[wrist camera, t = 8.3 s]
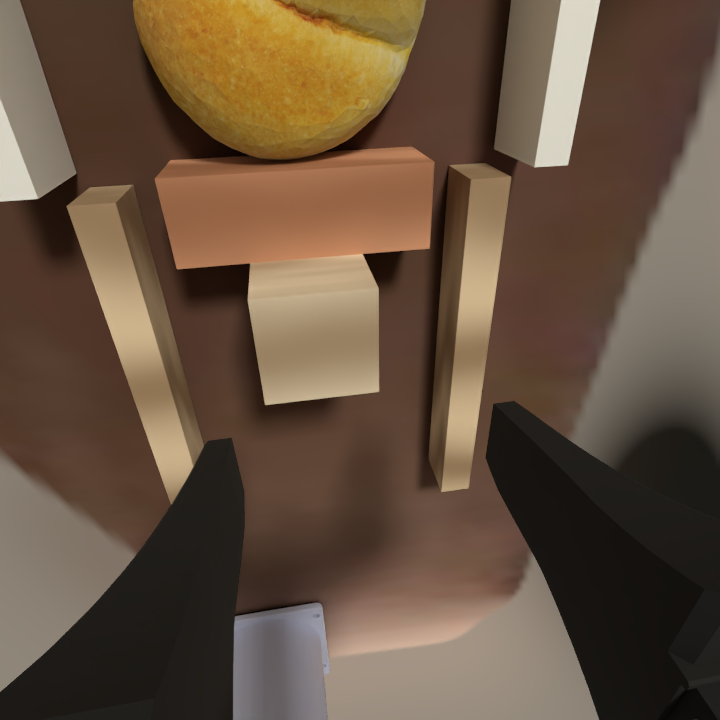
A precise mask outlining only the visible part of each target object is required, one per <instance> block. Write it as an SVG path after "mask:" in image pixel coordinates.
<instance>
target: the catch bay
mask: <svg viewBox="0 0 720 720" xmlns="http://www.w3.org/2000/svg"><path fill="white" fill-rule="evenodd" d="M599 4H600V0H511V6H510V15H509V23H508V32H507V40H506V49H505V58H504V66H503V75H502V84H501V92H500V101H499V110H498V118H497V127H496V136H495V144H494V149H495V150H497V151H499V152H501V153H504V154H506V155H508V156H510V157H513V158H515V159H517V160H519V161H522V162H524V163H526V164H528V165H530V166H533V167H547V166H562V165H568V162H569V157H570V152H571V147H572V142H573V137H574V132H575V126H576V121H577V116H578V111H579V106H580V101H581V96H582V91H583V86H584V81H585V75H586V70H587V65H588V60H589V55H590V50H591V45H592V40H593V35H594V30H595V24H596V19H597V14H598V9H599ZM75 174H77V173H76V170H75V167H74V164H73V161H72V158H71V155H70V152H69V149H68V146H67V143H66V140H65V137H64V134H63V130H62V127H61V124H60V121H59V118H58V115H57V112H56V109H55V106H54V103H53V100H52V97H51V94H50V91H49V88H48V85H47V82H46V79H45V75H44V72H43V69H42V66H41V63H40V60H39V57H38V54H37V51H36V48H35V45H34V42H33V39H32V36H31V33H30V30H29V27H28V24H27V21H26V17H25V14H24V11H23V8H22V5H21V2H20V0H0V201H15V200H31V199H39V198H41V197H42V196H44V195H45V194H47V193H48V192H50V191H51V190H53V189H54V188H56V187H57V186H59V185H60V184H62V183H63V182H65V181H66V180H68V179H69V178H71V177H72V176H74V175H75Z"/></svg>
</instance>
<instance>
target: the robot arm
mask: <svg viewBox="0 0 720 720" xmlns="http://www.w3.org/2000/svg"><path fill="white" fill-rule="evenodd" d="M486 460H487V463H488V465H489V468H490V471H491V473H492V476H493V479H494V481H495V483H496V486H497V488H498V491H499V492H500V494H501V496H502V498H503V500H504V502H505V504H506V506H507V507H508V509H509V511H510V513H511V515H512V517H513V518H514V520H515V522H516V524H517V526H518V528H519V529H520V531H521V533H522V535H523V537H524V538H525V540H526V542H527V544H528V546H529V547H530V549H531V551H532V553H533V555H534V557H535V558H536V560H537V562H538V564H539V566H540V568H541V570H542V572H543V574H544V577H545V579H546V581H547V584H548V586H549V588H550V591H551V593H552V595H553V598H554V600H555V602H556V605H557V607H558V609H559V612H560V615H561V617H562V620H563V622H564V625H565V627H566V630H567V632H568V635H569V637H570V639H571V642H572V645H573V647H574V650H575V653H576V655H577V658H578V661H579V663H580V666H581V669H582V672H583V674H584V677H585V680H586V682H587V685H588V688H589V691H590V694H591V697H592V700H593V702H594V705H595V708H596V711H597V714H598V717H599V720H720V520H717V519H715V518H712V517H710V516H707V515H705V514H703V513H700V512H698V511H695V510H693V509H691V508H689V507H687V506H684V505H682V504H680V503H678V502H676V501H673V500H671V499H669V498H667V497H665V496H663V495H661V494H659V493H657V492H655V491H653V490H651V489H649V488H647V487H645V486H643V485H641V484H640V483H638V482H636V481H634V480H632V479H630V478H628V477H627V476H625V475H623V474H621V473H620V472H618V471H616V470H614V469H613V468H611V467H609V466H608V465H606V464H605V463H603V462H601V461H600V460H598V459H597V458H595V457H593V456H592V455H590V454H589V453H587V452H586V451H584V450H583V449H581V448H579V447H578V446H577V445H575V444H574V443H572V442H571V441H569V440H568V439H567V438H565V437H564V436H562V435H561V434H560V433H558V432H557V431H555V430H554V429H553V428H551V427H550V426H548V425H547V424H546V423H544V422H543V421H541V420H540V419H539V418H537V417H536V416H535V415H533V414H532V413H531V412H529V411H528V410H526V409H525V408H524V407H522V406H521V405H519V404H518V403H516V402H515V401H512V402H504V403H496V404H493V411H492V418H491V425H490V431H489V438H488V445H487V452H486ZM244 528H245V510H244V489H243V485H242V480H241V476H240V472H239V467H238V463H237V459H236V455H235V450H234V446H233V442H232V438H227V439H220V440H212V441H208V442H207V443H206V444H205V445H204V447H203V449H202V451H201V453H200V455H199V457H198V459H197V461H196V463H195V465H194V467H193V469H192V470H191V472H190V474H189V476H188V478H187V479H186V481H185V483H184V485H183V486H182V488H181V490H180V491H179V493H178V495H177V496H176V498H175V500H174V501H173V503H172V505H171V506H170V508H169V509H168V511H167V512H166V514H165V515H164V517H163V518H162V520H161V521H160V523H159V524H158V526H157V527H156V529H155V530H154V532H153V533H152V535H151V536H150V537H149V539H148V540H147V541H146V543H145V544H144V546H143V547H142V548H141V550H140V551H139V552H138V553H137V555H136V556H135V557H134V559H133V560H132V561H131V562H130V564H129V565H128V566H127V567H126V569H125V570H124V571H123V572H122V573H121V575H120V576H119V577H118V578H117V579H116V580H115V581H114V583H113V584H112V585H111V586H110V587H109V588H108V590H107V591H106V592H105V593H104V594H103V595H102V596H101V598H100V599H99V600H98V601H97V602H96V603H95V604H94V605H93V606H92V607H91V608H90V609H89V611H87V612H86V613H85V614H84V616H82V618H80V619H79V620H78V621H77V623H75V624H74V625H73V626H72V627H71V628H70V629H69V631H67V632H66V633H65V634H64V635H63V636H62V637H61V638H60V639H59V640H58V641H57V642H56V643H55V644H54V645H53V646H52V647H51V648H50V649H49V650H48V651H47V652H46V653H45V654H44V655H43V656H41V657H40V658H39V659H38V660H37V661H36V662H34V663H33V664H32V665H31V666H30V667H29V668H27V669H26V670H25V671H24V672H23V673H22V674H21V675H19V676H18V677H17V678H16V679H15V680H14V681H13V682H11V683H10V684H9V685H8V686H7V687H6V688H4V689H3V690H2V691H1V692H0V720H328V715H327V704H326V693H325V682H324V675H327V674H328V673H329V672H330V665H329V657H328V649H327V640H326V632H325V624H324V615H323V607H322V604H320V603H310V604H305V605H299V606H293V607H287V608H281V609H275V610H269V611H263V612H257V613H251V614H245V615H239V616H235V609H236V600H237V592H238V583H239V574H240V565H241V556H242V547H243V538H244Z"/></svg>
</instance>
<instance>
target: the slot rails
mask: <svg viewBox="0 0 720 720" xmlns="http://www.w3.org/2000/svg"><path fill="white" fill-rule="evenodd" d="M510 183H511V176H509V175H507V174H505V173H503V172H501V171H499V170H498V169H496V168H494V167H492V166H490V165H488V164H486V163H477V164H461V165H449V173H448V187H447V201H446V215H445V230H444V244H443V258H442V272H441V287H440V301H439V315H438V330H437V344H436V358H435V372H434V387H433V401H432V415H431V429H430V444H429V458H428V459H429V462H430V464H431V467H432V469H433V472H434V475H435V477H436V480H437V482H438V485H439V487H440V490H441V492H445V491H452V490H459V489H466V488H468V487H469V480H470V473H471V466H472V458H473V451H474V444H475V437H476V429H477V422H478V415H479V408H480V400H481V393H482V386H483V379H484V371H485V364H486V357H487V350H488V342H489V335H490V328H491V321H492V313H493V306H494V299H495V292H496V284H497V277H498V270H499V263H500V255H501V248H502V241H503V234H504V226H505V219H506V212H507V204H508V197H509V190H510ZM67 209H68V212H69V215H70V218H71V220H72V223H73V226H74V229H75V232H76V235H77V238H78V240H79V243H80V246H81V249H82V252H83V255H84V258H85V260H86V263H87V266H88V269H89V272H90V275H91V277H92V280H93V283H94V286H95V289H96V292H97V295H98V297H99V300H100V303H101V306H102V309H103V312H104V315H105V317H106V320H107V323H108V326H109V329H110V332H111V335H112V337H113V340H114V343H115V346H116V349H117V352H118V354H119V357H120V360H121V363H122V366H123V369H124V372H125V374H126V377H127V380H128V383H129V386H130V389H131V392H132V394H133V397H134V400H135V403H136V406H137V409H138V412H139V414H140V417H141V420H142V423H143V426H144V429H145V432H146V434H147V437H148V440H149V443H150V446H151V449H152V451H153V454H154V457H155V460H156V463H157V466H158V469H159V471H160V474H161V477H162V480H163V483H164V486H165V489H166V491H167V494H168V497H169V500H170V503H171V505H172V503H173V501H174V500H175V498H176V496H177V495H178V493H179V491H180V490H181V488H182V486H183V485H184V483H185V481H186V479H187V478H188V476H189V474H190V472H191V470H192V469H193V467H194V465H195V463H196V461H197V459H198V457H199V455H200V453H201V451H202V449H203V447H204V445H203V441H202V438H201V434H200V430H199V426H198V423H197V419H196V415H195V412H194V408H193V404H192V401H191V397H190V393H189V389H188V386H187V382H186V378H185V375H184V371H183V367H182V364H181V360H180V356H179V352H178V349H177V345H176V341H175V338H174V334H173V330H172V327H171V323H170V319H169V315H168V312H167V308H166V304H165V301H164V297H163V293H162V290H161V286H160V282H159V278H158V275H157V271H156V267H155V264H154V260H153V256H152V253H151V249H150V245H149V242H148V238H147V234H146V230H145V227H144V223H143V219H142V216H141V212H140V208H139V205H138V201H137V197H136V193H135V190H134V186H133V185H122V186H106V187H90V188H89V189H88V190H86V191H85V192H84V193H83V194H81V195H80V196H79V197H77V198H76V199H75V200H74V201H72V202H71V203H70V204H69V205H67Z"/></svg>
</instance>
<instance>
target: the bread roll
mask: <svg viewBox="0 0 720 720" xmlns="http://www.w3.org/2000/svg"><path fill="white" fill-rule="evenodd" d="M425 1H426V0H134V1H133V10H134V19H135V23H136V27H137V30H138V34H139V37H140V41H141V44H142V46H143V48H144V50H145V52H146V54H147V56H148V58H149V61H150V63H151V65H152V67H153V69H154V71H155V72H156V74H157V76H158V78H159V79H160V81H161V83H162V85H163V86H164V88H165V89H166V91H167V92H168V94H169V95H170V97H171V98H172V100H173V101H174V102H175V103H176V104H177V105H178V106H179V107H180V108H181V109H182V110H183V111H184V112H185V113H186V114H187V115H188V116H189V117H190V118H191V119H192V120H193V121H194V122H195V123H196V124H197V125H198V126H200V127H201V128H202V129H203V130H204V131H205V132H206V133H208V134H209V135H210V136H211V137H213V138H214V139H216V140H217V141H219V142H221V143H223V144H225V145H226V146H228V147H230V148H232V149H235V150H237V151H240V152H242V153H245V154H247V155H250V156H253V157H256V158H260V159H270V160H289V159H299V158H303V157H308V156H312V155H315V154H319V153H321V152H324V151H327V150H329V149H331V148H334V147H336V146H338V145H339V144H341V143H343V142H345V141H347V140H348V139H350V138H351V137H353V136H354V135H355V134H356V133H357V132H358V131H360V130H361V129H362V128H363V127H364V126H365V125H366V124H368V122H370V121H371V120H372V119H374V118H375V117H376V116H377V115H378V114H379V113H380V112H381V111H382V109H383V108H384V107H385V105H386V104H387V103H388V101H389V100H390V98H391V97H392V95H393V93H394V92H395V90H396V88H397V86H398V84H399V82H400V80H401V77H402V75H403V73H404V71H405V68H406V65H407V61H408V58H409V55H410V52H411V49H412V47H413V44H414V42H415V39H416V37H417V34H418V30H419V26H420V23H421V19H422V17H423V14H424V8H425Z"/></svg>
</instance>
